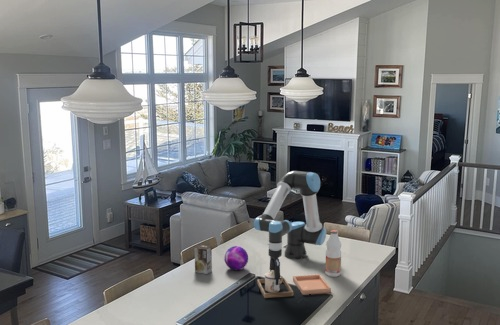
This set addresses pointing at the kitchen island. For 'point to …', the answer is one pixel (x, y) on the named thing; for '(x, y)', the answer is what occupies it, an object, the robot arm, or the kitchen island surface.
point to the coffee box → (203, 259)
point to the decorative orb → (236, 258)
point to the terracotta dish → (311, 284)
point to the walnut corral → (277, 294)
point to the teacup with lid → (271, 282)
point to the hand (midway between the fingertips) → (274, 286)
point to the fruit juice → (333, 255)
